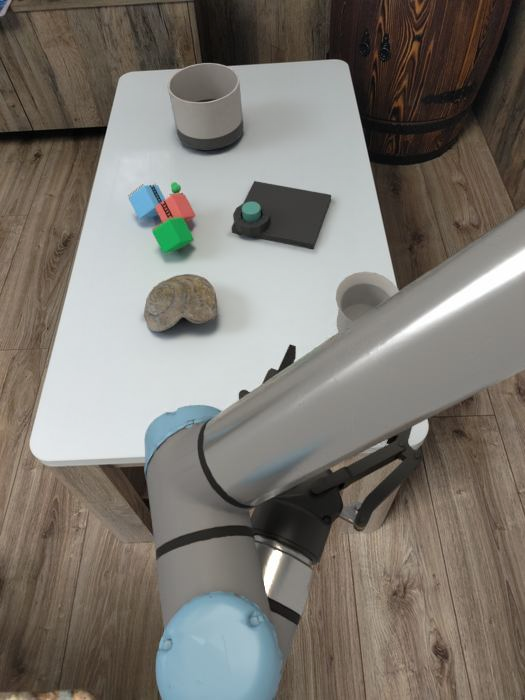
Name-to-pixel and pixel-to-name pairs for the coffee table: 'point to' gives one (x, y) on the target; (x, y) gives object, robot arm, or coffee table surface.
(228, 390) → the coffee table surface
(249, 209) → the button
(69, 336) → the coffee table surface
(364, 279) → the chalice
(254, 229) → the scale
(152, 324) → the fossilized seashell
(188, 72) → the planter
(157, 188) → the building blocks
